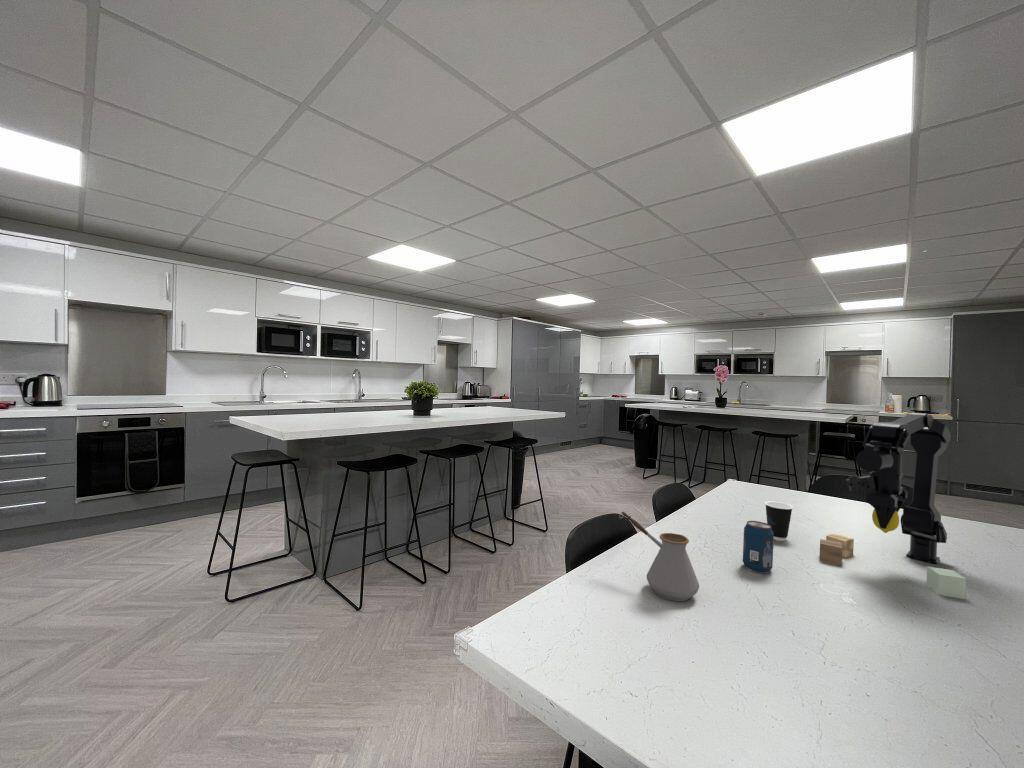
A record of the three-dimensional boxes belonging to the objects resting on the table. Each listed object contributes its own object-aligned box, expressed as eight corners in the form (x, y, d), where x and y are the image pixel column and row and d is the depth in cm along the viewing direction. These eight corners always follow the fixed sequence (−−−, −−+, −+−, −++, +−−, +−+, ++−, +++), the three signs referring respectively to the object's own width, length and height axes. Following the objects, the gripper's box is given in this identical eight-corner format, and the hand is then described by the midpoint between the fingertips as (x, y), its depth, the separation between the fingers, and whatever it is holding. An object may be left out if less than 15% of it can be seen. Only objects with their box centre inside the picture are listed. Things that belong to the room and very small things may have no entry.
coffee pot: (708, 596, 96) (711, 531, 96) (680, 611, 89) (683, 541, 89) (632, 562, 113) (634, 507, 113) (603, 572, 106) (606, 514, 106)
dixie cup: (794, 538, 137) (795, 505, 137) (788, 544, 132) (789, 509, 132) (767, 532, 143) (768, 500, 143) (760, 537, 137) (761, 503, 137)
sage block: (926, 585, 106) (927, 566, 106) (952, 590, 104) (952, 570, 104) (937, 594, 102) (938, 574, 102) (965, 599, 100) (965, 578, 100)
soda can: (747, 560, 117) (748, 518, 117) (775, 569, 112) (777, 524, 113) (738, 567, 113) (740, 523, 113) (768, 577, 108) (769, 530, 108)
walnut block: (819, 555, 124) (820, 538, 124) (840, 560, 121) (841, 543, 121) (819, 560, 120) (820, 543, 120) (841, 565, 117) (842, 548, 117)
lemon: (904, 537, 111) (905, 507, 111) (880, 535, 112) (881, 505, 112) (889, 530, 116) (890, 501, 116) (866, 528, 117) (867, 500, 117)
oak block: (833, 549, 129) (834, 533, 129) (853, 555, 125) (853, 538, 125) (825, 551, 127) (826, 535, 127) (845, 558, 123) (845, 541, 123)
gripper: (858, 461, 126) (856, 512, 126) (840, 467, 115) (838, 524, 115) (908, 467, 118) (907, 523, 118) (895, 475, 106) (893, 536, 106)
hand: (885, 526), depth 114 cm, fingers closed on lemon, 5 cm apart
